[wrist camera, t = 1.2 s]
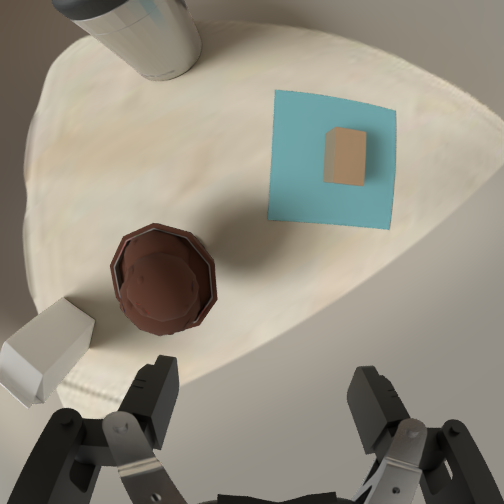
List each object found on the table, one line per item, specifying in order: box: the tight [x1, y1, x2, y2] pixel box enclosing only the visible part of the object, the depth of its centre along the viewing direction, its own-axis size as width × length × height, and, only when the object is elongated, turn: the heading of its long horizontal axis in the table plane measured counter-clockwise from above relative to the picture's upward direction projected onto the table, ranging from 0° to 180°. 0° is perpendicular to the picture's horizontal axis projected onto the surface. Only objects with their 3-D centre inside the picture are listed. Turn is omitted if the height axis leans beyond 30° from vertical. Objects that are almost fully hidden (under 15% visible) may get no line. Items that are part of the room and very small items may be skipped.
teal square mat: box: [268, 90, 396, 230], centre depth 28 cm, size 16×16×5 cm
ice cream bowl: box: [110, 223, 217, 336], centre depth 26 cm, size 11×11×15 cm
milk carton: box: [0, 298, 95, 409], centre depth 28 cm, size 7×7×19 cm
